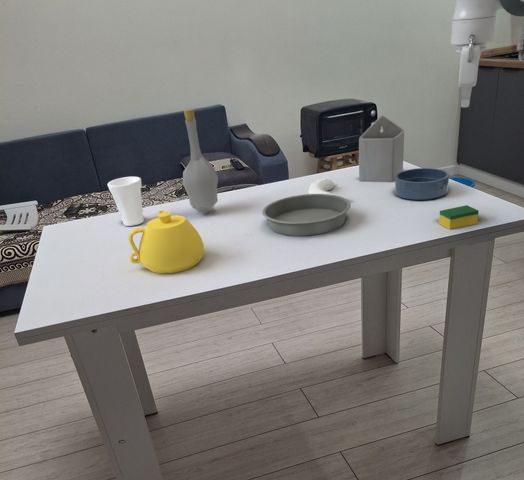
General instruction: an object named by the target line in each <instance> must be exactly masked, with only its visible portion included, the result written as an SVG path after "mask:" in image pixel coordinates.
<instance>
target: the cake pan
mask: <svg viewBox="0 0 524 480" xmlns="http://www.w3.org/2000/svg"><path fill="white" fill-rule="evenodd" d="M345 198H346V197H342V196H339V195H336V194H334V195H330V194H308V193H305V194H297V195H292V196H291V195H290V196H287V197H284V198H279V199H277V200H274V201H271V202H269V204H267V205H266V206H265V207H264V208H263V209H262V212H261V214H262V216H263V218H265V219H266V220H267V222H268V226H269V229H271V230H272V231H273V232H275V233H277V234H281V235H284V236H292V237H306V236H316V235H322V234H325V233H329V232H333V231H334V230H337V229H338V228H340V227H341V226H343V225H344V224H345V221H346V216H347V212H348V211H350V209H351V202H350V200H349V199H347V198H346V199H345Z"/></svg>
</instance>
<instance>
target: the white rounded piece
mask: <svg viewBox="0 0 524 480" xmlns="http://www.w3.org/2000/svg"><path fill="white" fill-rule="evenodd" d="M335 186H336V184H335V182H334V181H333V180H332V179H329V178H321V179H317V180H315V181H313V182H312V183H310V185H309V186H308V193H307V194H330V195H335V194H334V193H333V192H329V191H330V190H333V189H334V188H335ZM344 198H345V199H347V198H346V197H344Z"/></svg>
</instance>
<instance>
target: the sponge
mask: <svg viewBox="0 0 524 480" xmlns="http://www.w3.org/2000/svg"><path fill="white" fill-rule="evenodd" d="M478 220H479V210H478V209H476V208H475V207H472V206H469V205H468V204H466V205H460V206H456V207H451V208H446V209H442V210H439V217H438V225H441V226H442V227H444V228H446V229H448V230H454V229H459V228H464V227H467V226H472V225H476V224H478Z"/></svg>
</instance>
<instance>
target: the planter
mask: <svg viewBox="0 0 524 480" xmlns="http://www.w3.org/2000/svg"><path fill="white" fill-rule="evenodd" d="M381 130H382V131H381ZM404 148H405V130H404V129H403V128H402V127H401V126H399V125H398V124H396V122H393V121H392V120H390V119H389V118H388V117H386V116H385V115H380V116H378V118H377V119H376V120H375V121H374V122H373V123H372V124H371V125H370V126H369V127H368V128H367V129H366V130H365V131H364V132H363V133H362V135H360V136H359V138H358V181H359V182H375V183H377V182H379V183H393V182H395V176H396V175H397V174H398V173H400V172H402V171H404V153H405V150H404Z"/></svg>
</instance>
